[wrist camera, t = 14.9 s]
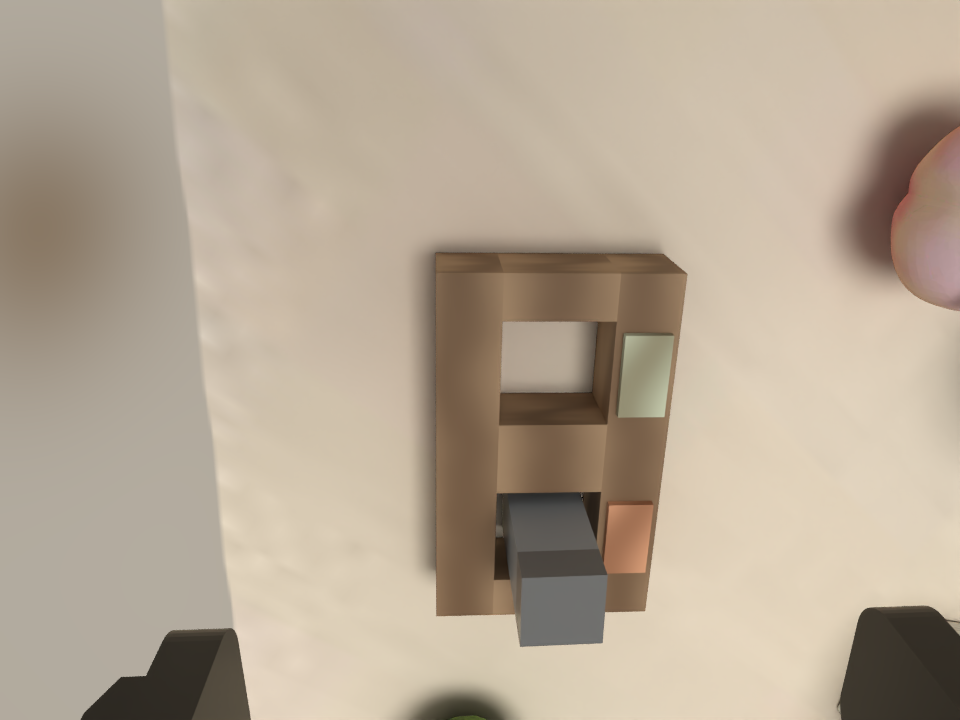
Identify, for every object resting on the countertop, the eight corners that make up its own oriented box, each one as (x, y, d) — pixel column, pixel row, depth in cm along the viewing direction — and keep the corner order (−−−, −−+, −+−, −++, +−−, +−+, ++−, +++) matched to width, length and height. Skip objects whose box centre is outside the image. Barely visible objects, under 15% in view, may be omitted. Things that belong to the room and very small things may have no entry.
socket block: (663, 254, 40) (690, 276, 35) (628, 567, 47) (646, 616, 43) (435, 252, 39) (435, 275, 35) (436, 571, 46) (436, 621, 42)
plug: (570, 466, 44) (607, 575, 35) (567, 524, 45) (602, 643, 36) (502, 468, 44) (521, 578, 34) (502, 526, 45) (519, 646, 36)
